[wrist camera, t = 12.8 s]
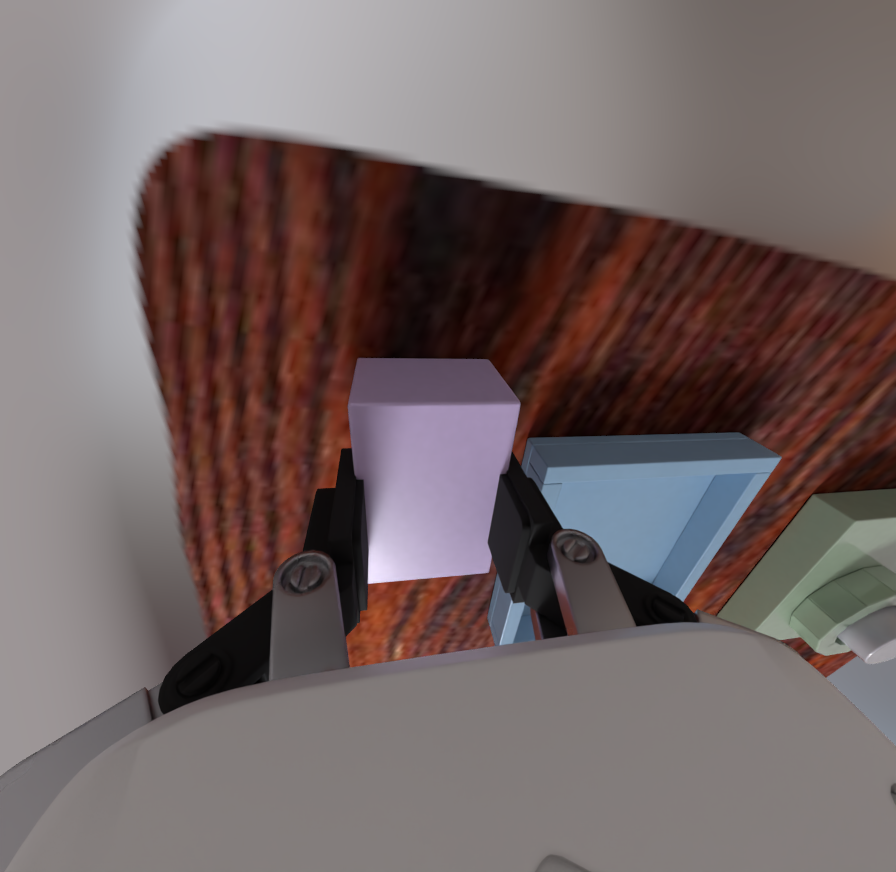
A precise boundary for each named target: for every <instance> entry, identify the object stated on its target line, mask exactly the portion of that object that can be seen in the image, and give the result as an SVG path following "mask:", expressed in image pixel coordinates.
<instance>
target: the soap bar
mask: <svg viewBox="0 0 896 872" xmlns="http://www.w3.org/2000/svg"><path fill="white" fill-rule="evenodd" d="M519 410H520V401H519V400H518V398H517V397H516V395H515V394H514V393H513V391H512V390H511V389H510V387H509V386H508V385H507V383H506V382H505V381H504V379H503V378H502V377H501V375H500V374H499V373H498V371H497V370H496V369H495V367H494V366H493V365H492V363H491V362H490V361H489V360H488V359H415V358H358V359H357V363H356V368H355V373H354V378H353V383H352V387H351V392H350V397H349V402H348V414H349V424H350V434H351V445H352V455H353V465H354V474H355V476H356V479H357V480H363V479H364V492H365V507H366V521H367V535H368V549H369V557H368V584H370V583H381V582H392V581H403V580H414V579H425V578H436V577H446V576H457V575H468V574H479V573H488V572H489V569H490V564H491V559H492V555H491V552H490V549H489V546H488V543H487V542H488V537H489V531H490V526H491V521H492V515H493V510H494V504H495V499H496V493H497V488H498V482H499V477H500V474H507V470H508V468H509V463H510V458H511V452H512V447H513V442H514V436H515V431H516V426H517V420H518V415H519Z"/></svg>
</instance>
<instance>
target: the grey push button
mask: <svg viewBox="0 0 896 872" xmlns="http://www.w3.org/2000/svg"><path fill="white" fill-rule="evenodd" d="M837 638H838V639H840V640H841V641H842V642H843V643H844V644H845V645H846V646H847V647H848V648H850V649H851V650H852V651H853V652H854V653H855V654H856V655H857V656H858V657H859V658H861V659H862V660H863V661H864V662H865V663H867V664H877V663H881V662H884V661H887V660H890V659H892V658H895V657H896V606H895V605H894V606H887V607H885V608H882V609H880V610H877V611H875V612H872V613H870V614H868V615H866V616H865V617H863V618H861V619H860V620H858V621H856V622H854V623H853V624H851V625H849V626H848V627H847V628H846V629H845V630H844V631H842V632H841V633H840V634H839V635H838V636H837Z"/></svg>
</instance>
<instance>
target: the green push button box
mask: <svg viewBox="0 0 896 872" xmlns="http://www.w3.org/2000/svg"><path fill="white" fill-rule="evenodd" d="M894 605H895V606H896V488H895V489H880V490H866V491H851V492H837V493H822V494H813V495H812V496H811V497H810V499H809V500H808V501H807V502H806V504H805V505H804V506H803V507H802V509H801V510H800V511H799V512H798V514H797V515H796V516H795V518H794V519H793V520H792V521H791V523H790V524H789V525H788V526H787V528H786V529H785V530H784V531H783V533H782V534H781V535H780V536H779V538H778V539H777V540H776V542H775V543H774V544H773V545H772V547H771V548H770V549H769V550H768V552H767V553H766V554H765V555H764V557H763V558H762V559H761V560H760V562H759V563H758V564H757V566H756V567H755V568H754V569H753V571H752V572H751V573H750V574H749V576H748V577H747V578H746V579H745V581H744V582H743V583H742V584H741V586H740V587H739V588H738V590H737V591H736V592H735V593H734V595H733V596H732V597H731V598H730V600H729V601H728V602H727V603H726V605H725V606H724V607H723V608H722V610H721V611H720V612H719V614H718V615H717V616H716V617H719V618H722V619H724V620H727V621H730V622H732V623H735V624H738V625H741V626H743V627H746V628H749V629H751V630H754V631H757V632H760V633H762V634H765V635H768V636H770V637H773V638H775V639H777V640H784V639H790V638H796V637H801V638H802V639H803V640H804V641H805V642H806V643H807V644H808V645H809V646H811V647H812V648H813V649H814V650H815V651H816V652H818V653H820V654H823V655H825V656H827V655H833V654H838V653H844V652H849V651H851V649H850V648H848V647H847V646H846V645H845V644H844V643H843V642H842V641H841V640H840V639H838V638H837V636H838V635H839V634H840V633H841V632H842V631H844V630H845V629H846V628H847V627H848V626H849V625H851V624H853V623H854V622H856V621H858V620H860V619H861V618H863V617H865V616H866V615H868V614H870V613H872V612H875V611H877V610H880V609H882V608H885V607H887V606H894Z"/></svg>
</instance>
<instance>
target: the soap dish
mask: <svg viewBox="0 0 896 872" xmlns="http://www.w3.org/2000/svg"><path fill="white" fill-rule="evenodd" d="M781 458H782V457H781V456H779V455H777V454H776V453H774V452H772V451H771V450H769V449H767V448H765V447H764V446H762V445H760V444H758V443H757V442H755V441H753V440H752V439H749V438H748V437H746V436H744V435H743V434H741V433H738V432H736V433H698V434H659V435H621V436H582V437H544V438H528V440H527V444H526V448H525V453H524V457H523V462H522V466H521V467H522V469H523V471H524V473H525V474H526V476H527V477H530V478H532V479H533V480H534V481H535V483H536V485H537V486H538V488H539V490H540V491H541V493H542V494H543V496H544V498H545V499H546V501H547V503H548V504H549V506H550V508H551V509H552V511H553V513H554V514H555V516H556V518H557V519H558V521H559V523H560V524H561V526H562V528H563V529H575V530H579V531H581V532H584V533H586V534H587V535H589V536H591V537H592V538H593V539H594V540H595V541H596V542H597V543H598V544H599V546H600V547H601V549H602V551H603V553H604V555H605V558H606V560H607V562H609V563H611V564H613V565H615V566H617V567H619V568H621V569H623V570H625V571H627V572H629V573H631V574H633V575H635V576H637V577H639V578H641V579H643V580H645V581H647V582H649V583H651V584H653V585H655V586H657V587H659V588H661V589H663V590H665V591H667V592H669V593H671V594H673V595H674V596H676V597H677V598H679V599H680V600H681V601H684V599H685V598H686V596H687V595H688V593H689V592H690V591H691V589H692V588H693V586H694V585H695V583H696V582H697V580H698V579H699V577H700V576H701V575H702V573H703V572H704V570H705V569H706V567H707V566H708V564H709V563H710V561H711V560H712V558H713V557H714V556H715V554H716V553H717V551H718V550H719V548H720V547H721V545H722V544H723V542H724V541H725V539H726V538H727V537H728V535H729V534H730V532H731V531H732V529H733V528H734V526H735V525H736V523H737V522H738V520H739V519H740V518H741V516H742V515H743V513H744V512H745V510H746V509H747V507H748V506H749V504H750V503H751V501H752V500H753V499H754V497H755V496H756V494H757V493H758V491H759V490H760V488H761V487H762V485H763V484H764V482H765V481H766V480H767V478H768V477H769V475H770V474H771V472H772V471H773V470H774V468H775V467H776V465H777V464H778V462H779V461H780V459H781ZM487 618H488V622H489V625H490V629H491V632H492V636H493V639H494V643H495V646H500V645H507V644H514V643H521V642H528V641H535V635H534V630H533V624H532V619H531V614H530V607H529V606H527V605H525V603H524V602H523V603H514V604H513V601H512V599H511V596H510V593H505V592H504V590H503V587H502V584H501V581H500V578H499V575H498V573H497V577H496V581H495V586H494V590H493V594H492V599H491V603H490V608H489V612H488V616H487Z"/></svg>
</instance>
